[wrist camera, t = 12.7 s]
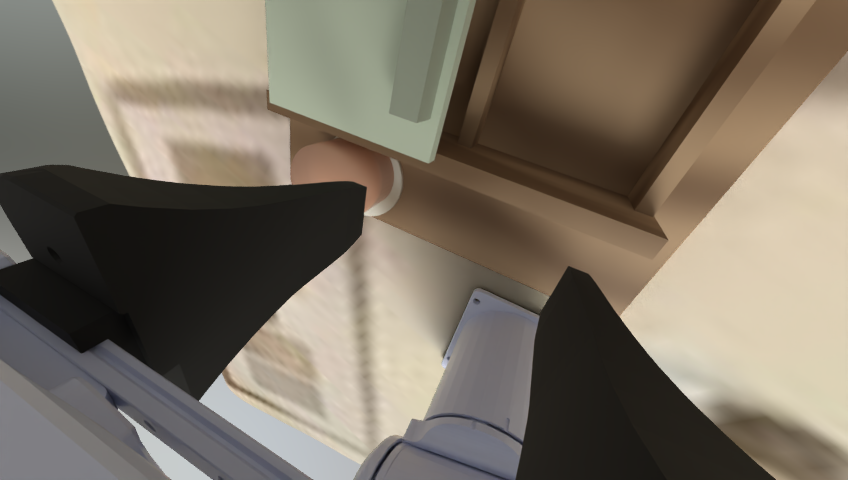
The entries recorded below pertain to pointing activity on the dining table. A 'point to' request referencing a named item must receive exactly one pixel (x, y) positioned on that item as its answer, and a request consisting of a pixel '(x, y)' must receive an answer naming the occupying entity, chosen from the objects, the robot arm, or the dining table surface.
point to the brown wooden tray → (601, 129)
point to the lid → (369, 65)
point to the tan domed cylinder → (344, 167)
